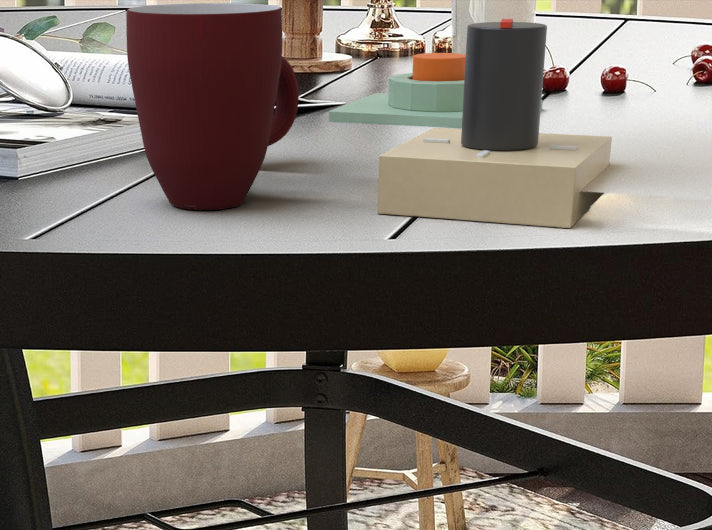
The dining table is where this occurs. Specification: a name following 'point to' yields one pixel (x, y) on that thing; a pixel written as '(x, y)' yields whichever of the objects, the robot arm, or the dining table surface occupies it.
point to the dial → (503, 85)
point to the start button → (439, 67)
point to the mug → (209, 96)
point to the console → (492, 179)
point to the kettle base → (408, 104)
